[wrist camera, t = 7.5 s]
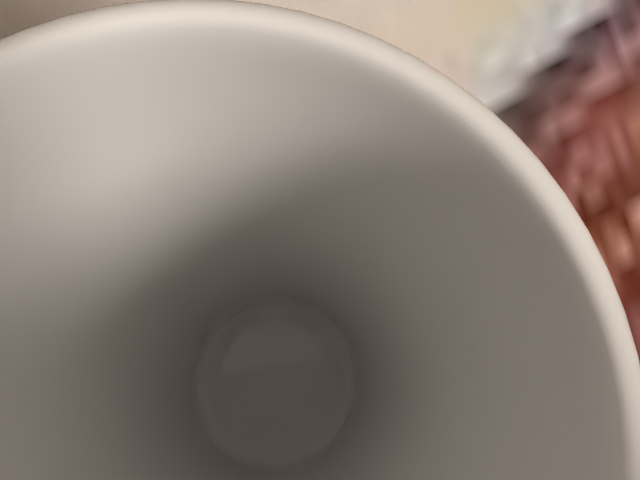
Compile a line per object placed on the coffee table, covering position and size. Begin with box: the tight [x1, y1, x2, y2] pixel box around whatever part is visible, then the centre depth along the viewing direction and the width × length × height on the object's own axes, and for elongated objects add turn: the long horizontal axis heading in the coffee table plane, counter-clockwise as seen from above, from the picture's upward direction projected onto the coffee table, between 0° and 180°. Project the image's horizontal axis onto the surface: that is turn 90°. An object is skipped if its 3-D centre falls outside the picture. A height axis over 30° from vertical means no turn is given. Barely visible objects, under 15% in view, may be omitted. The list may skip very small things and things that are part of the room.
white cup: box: [0, 0, 640, 480], centre depth 11 cm, size 7×7×15 cm
